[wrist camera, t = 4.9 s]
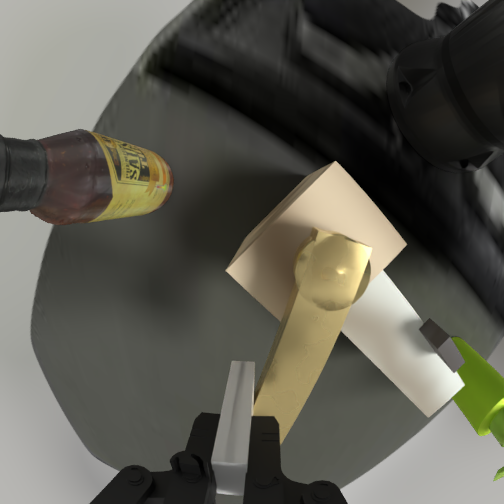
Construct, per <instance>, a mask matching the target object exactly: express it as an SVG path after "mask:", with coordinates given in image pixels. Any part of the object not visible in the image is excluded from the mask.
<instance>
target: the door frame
mask: <svg viewBox="0 0 504 504" xmlns="http://www.w3.org/2000/svg"><path fill="white" fill-rule="evenodd" d="M313 226H314V227H317V228H320V229H323V230H330V231H336V232H340V233H342V234H344V235H346V236H347V237H349V238H351V239H354V240H357V241H360V242H362V243H364V244H366V245H368V246H369V247H371V248H372V251H371V254H370V257H369V260H370V265H371V276H370V281H369V284H368V286H367V289H366V290H365V292H364V294H363V295H362V296H361V297H360V298H359V299H358V300H357V301H356V302H355V303H354V304H352V305H351V307H350V309H349V312H348V314H347V317H346V319H345V321H344V324H343V326H342V328H341V331H342V332H343V333H344V334H345V335H346V336H347V337H348V338H349V339H350V340H351V341H352V342H353V343H354V344H355V345H356V346H357V347H358V348H359V349H360V350H361V351H362V352H363V353H364V354H365V355H366V356H367V357H368V358H369V359H370V360H371V361H372V362H373V363H374V364H375V365H376V366H377V367H378V368H379V369H380V370H381V371H382V372H383V373H384V374H385V375H386V376H387V377H388V378H389V379H390V380H391V381H392V382H393V383H394V384H395V385H396V386H397V387H398V388H399V389H400V390H401V391H402V392H403V393H404V394H405V395H406V396H407V397H408V398H409V399H410V400H411V401H412V402H413V403H414V404H415V405H416V406H417V407H418V408H419V409H420V410H421V411H422V412H423V413H424V414H425V415H426V416H427V417H430V416H431V415H432V414H433V413H434V412H436V411H437V410H438V409H439V408H440V407H441V406H443V405H444V404H445V403H446V402H447V401H448V400H449V399H451V398H452V397H453V396H454V395H455V394H456V393H457V392H458V391H459V390H460V389H461V388H462V387H463V386H464V385H465V384H464V383H463V381H462V380H461V378H460V376H459V375H458V373H457V370H458V369H459V368H460V367H461V366H462V365H463V364H464V363H465V361H464V359H463V357H462V356H461V354H460V352H459V350H458V349H457V347H456V345H455V344H454V342H453V340H452V339H451V337H450V336H449V335H448V334H447V333H446V332H445V331H444V330H442V329H441V328H440V327H439V326H438V325H437V324H436V323H435V322H434V321H432V320H431V319H430V318H429V319H428V320H427V321H426V322H425V323H423V321H422V320H421V319H420V317H419V316H418V315H417V313H416V312H415V311H414V309H413V308H412V307H411V305H410V304H409V303H408V301H407V300H406V299H405V297H404V296H403V295H402V293H401V292H400V291H399V290H398V288H397V287H396V286H395V285H394V283H393V282H392V281H391V280H390V278H389V277H388V276H387V275H386V273H385V272H384V271H383V269H384V268H385V267H386V266H387V265H388V264H389V263H390V262H391V261H392V260H393V259H394V258H395V257H396V256H397V255H398V254H399V253H400V252H401V250H402V249H403V248H404V247H405V246H406V245H407V244H406V243H405V241H404V240H403V239H402V237H401V236H400V235H399V233H398V232H397V231H396V230H395V228H394V227H393V226H392V224H391V223H390V222H389V221H388V219H387V218H386V217H385V216H384V215H383V213H382V212H381V211H380V210H379V208H378V207H377V206H376V205H375V204H374V203H373V201H372V200H371V199H370V198H369V197H368V196H367V194H366V193H365V192H364V191H363V190H362V189H361V188H360V186H359V185H358V184H357V183H356V182H355V181H354V180H353V179H352V178H351V176H350V175H349V174H348V173H347V172H346V171H345V170H344V169H343V168H342V167H341V166H340V165H339V164H338V163H337V162H336V161H334V162H332V163H331V164H329V165H327V166H325V167H323V168H321V169H319V170H317V171H315V172H313V173H312V174H310V175H308V176H306V177H305V178H304V179H303V180H302V181H301V182H300V183H299V184H298V185H297V186H296V187H295V188H294V189H293V190H292V191H291V192H290V193H289V194H288V195H287V196H286V197H285V198H284V199H283V200H282V201H281V202H280V203H279V204H278V205H277V206H276V207H275V208H274V209H273V210H272V211H271V212H270V213H269V214H268V215H267V216H266V217H265V218H264V219H263V220H262V221H261V222H260V223H259V224H258V225H257V226H256V227H255V228H254V229H253V230H252V231H251V232H250V233H249V234H248V235H247V236H246V238H245V239H244V241H243V243H242V244H241V246H240V248H239V249H238V251H237V253H236V254H235V256H234V258H233V259H232V261H231V263H230V264H229V266H228V268H227V269H226V271H227V272H228V273H229V274H230V275H231V276H232V277H233V278H234V279H235V280H236V281H237V282H238V283H239V284H240V285H241V286H242V287H243V288H245V289H246V290H247V291H248V292H249V293H250V294H251V295H252V296H253V297H254V298H255V299H256V300H257V301H258V302H260V303H261V304H262V305H263V306H264V307H265V308H266V309H267V310H268V311H269V312H270V313H271V314H273V315H274V316H275V317H276V318H277V319H278V320H279V321H280V322H281V320H282V317H283V314H284V312H285V309H286V306H287V303H288V300H289V297H290V295H291V292H292V289H293V286H294V283H295V277H294V273H293V259H294V255H295V253H296V250H297V249H298V247H299V245H300V244H301V243H302V242H303V241H304V240H305V239H306V238H307V237H309V236H310V234H311V230H312V227H313Z"/></svg>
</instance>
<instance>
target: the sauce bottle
mask: <svg viewBox="0 0 504 504" xmlns="http://www.w3.org/2000/svg"><path fill="white" fill-rule="evenodd" d="M173 181H174V180H173V175H172V172H171V169H170V167H169V165H168V163H167V162H166V161H165V160H164V159H163V158H162V157H160V156H159V155H158V154H156V153H155V152H152V151H150V150H147V149H144V148H141V147H138V146H135V145H132V144H129V143H126V142H123V141H120V140H117V139H114V138H110V137H107V136H104V135H100V134H97V133H94V132H90V131H87V130H83V129H78V130H75V131H70V132H66V133H62V134H58V135H54V136H51V137H47V138H43V139H39V140H35V139H29V140H21V139H15V138H5V137H3V136H2V135H0V212H9V211H15V210H18V211H28V210H30V212H31V213H32V214H34V215H35V216H36V217H39V218H40V219H41V220H43V221H45V222H47V223H51V224H55V225H66V224H72V223H89V222H96V221H102V220H108V219H116V218H123V217H131V216H139V215H144V214H147V213H151V212H154V211H155V210H157V209H159V208H160V207H161V206H163V205H164V204H165V203H166V202H167V200H168V199H169V197H170V195H171V192H172V190H173Z"/></svg>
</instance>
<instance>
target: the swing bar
mask: <svg viewBox="0 0 504 504" xmlns="http://www.w3.org/2000/svg"><path fill="white" fill-rule="evenodd" d="M371 251H372V248H371V247H369V246H368V245H366V244H364V243H362V242H360V241H357V240H354V239H351V238H349V237H347V236H346V235H344V234H342V233H340V232H336V231H330V230H323V229H320V228H317V227H314V226H313V227H312V230H311V234H310V236H309V237H307V238H306V239H305V240H304V241H303V242H302V243H301V244H300V245H299V247H298V249H297V250H296V253H295V255H294V259H293V273H294V277H295V283H294V286H293V289H292V292H291V295H290V297H289V300H288V303H287V306H286V309H285V312H284V314H283V317H282V320H281V323H280V326H279V328H278V331H277V334H276V336H275V339H274V342H273V345H272V347H271V350H270V352H269V355H268V358H267V360H266V363H265V366H264V368H263V371H262V373H261V376H260V378H259V381H258V383H257V386H256V388H255V391H254V405H253V416H275V418H276V420H277V421H278V423H279V429H280V445H281V443H282V442H283V440H284V438H285V437H286V435H287V433H288V432H289V430H290V428H291V427H292V425H293V423H294V421H295V420H296V418H297V416H298V414H299V413H300V411H301V409H302V407H303V406H304V404H305V402H306V400H307V398H308V396H309V395H310V393H311V391H312V389H313V387H314V385H315V383H316V381H317V379H318V377H319V375H320V373H321V371H322V369H323V367H324V365H325V363H326V361H327V359H328V357H329V355H330V353H331V350H332V348H333V346H334V344H335V342H336V340H337V337H338V335H339V333H340V331H341V328H342V326H343V324H344V321H345V319H346V317H347V314H348V312H349V309H350V307H351V305H352V304H354V303H355V302H356V301H357V300H358V299H359V298H360V297H361V296H362V295H363V294H364V292H365V290H366V289H367V286H368V284H369V281H370V276H371V265H370V260H369V257H370V254H371Z"/></svg>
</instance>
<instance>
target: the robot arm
mask: <svg viewBox="0 0 504 504" xmlns="http://www.w3.org/2000/svg"><path fill="white" fill-rule="evenodd" d="M387 95H388V100H389V104H390V108H391V111H392V113H393V116H394V118H395V121H396V123H397V125H398V127H399V128H400V130H401V132H402V133H403V135H404V137H405V138H406V139H407V141H408V142H409V143H410V145H411V146H412V147H413V148H414V149H415V150H416V151H417V152H418V153H419V154H420V155H421V156H422V157H423V158H424V159H425V160H427V161H428V162H429V163H431V164H432V165H434V166H436V167H438V168H440V169H442V170H445V171H448V172H455V173H459V172H472V171H476V170H479V169H481V168H483V167H484V166H486V165H487V164H489V163H490V162H492V161H493V160H494V159H496V158H497V157H499V156H500V155H501V154H503V153H504V0H489V1H487V2H486V3H485V4H483V5H482V6H481V7H480V8H479V9H477V10H476V11H475V12H474V13H472V14H471V15H470V16H469V17H468V18H466V19H465V20H464V21H463V22H462V23H460V24H459V25H458V26H457V27H456V28H454V30H452V31H451V32H450V33H449V34H447V35H446V36H442V37H437V38H433V39H428V40H424V41H420V42H416V43H413V44H411V45H409V46H408V47H406V48H405V49H404V50H403V51H402V52H401V53H400V54H399V55H398V56H397V57H396V58H395V59H394V60H393V62H392V63H391V65H390V68H389V71H388V75H387ZM254 386H255V362H247V361H232V363H231V368H230V373H229V377H228V382H227V387H226V392H225V397H224V401H223V406H222V411H221V414H213V413H203V412H202V413H201V414H200V415H199V416H198V417H197V418H196V419H195V421H194V424H193V427H192V430H191V433H190V437H189V440H188V443H187V446H186V450H185V451H182V452H178V453H176V454H175V455H173V456H172V458H171V459H170V463H171V466H172V470H169V471H164V472H150V471H149V470H147V469H146V468H145V467H142V466H139V465H131V466H127V467H125V468H124V469H122V470H121V471H120V472H119V473H118V474H117V475H116V476H115V477H114V478H113V480H112V481H111V482H110V483H109V484H108V485H107V486H106V487H105V488H104V489H103V490H102V491H101V492H100V493H99V494H98V495H97V496H96V497H95V498H94V500H93V501H92V502H91V503H90V504H216V502H215V495H216V490H217V493H220V494H229V495H243V496H244V499H243V504H348V503H347V502H346V500H345V498H344V496H343V495H342V493H341V491H340V489H339V488H338V487H337V486H336V485H335V484H334V483H332V482H330V481H323V480H321V481H315V482H313V483H310V484H309V485H308V484H303V483H298V482H295V481H291V480H290V479H288V478H287V477H286V476H285V475H284V474H283V473H282V471H281V459H280V429H279V423H278V421H277V420H276V418H275V416H253V405H254Z"/></svg>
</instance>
